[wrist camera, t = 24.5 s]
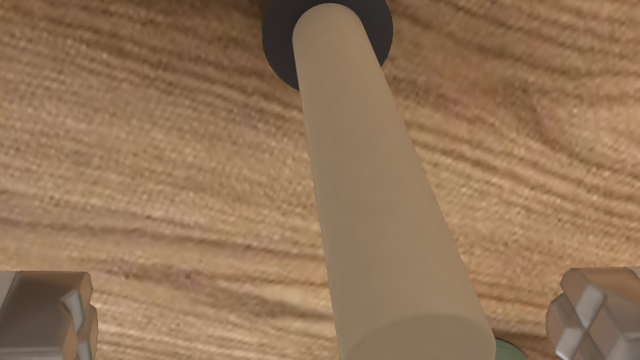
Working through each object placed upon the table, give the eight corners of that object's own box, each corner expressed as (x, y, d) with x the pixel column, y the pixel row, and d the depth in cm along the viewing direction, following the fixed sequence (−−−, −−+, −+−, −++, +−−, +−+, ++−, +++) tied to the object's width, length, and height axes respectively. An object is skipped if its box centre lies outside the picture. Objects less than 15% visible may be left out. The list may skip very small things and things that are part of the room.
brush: (258, 55, 21) (269, 451, 9) (263, -62, 19) (288, 259, 7) (367, 61, 22) (513, 442, 10) (385, -51, 20) (606, 263, 7)
